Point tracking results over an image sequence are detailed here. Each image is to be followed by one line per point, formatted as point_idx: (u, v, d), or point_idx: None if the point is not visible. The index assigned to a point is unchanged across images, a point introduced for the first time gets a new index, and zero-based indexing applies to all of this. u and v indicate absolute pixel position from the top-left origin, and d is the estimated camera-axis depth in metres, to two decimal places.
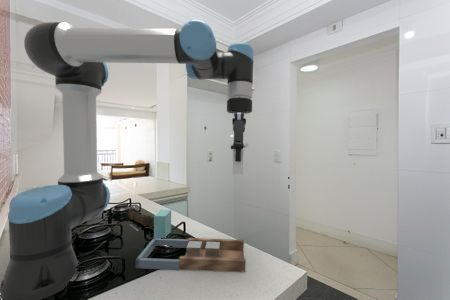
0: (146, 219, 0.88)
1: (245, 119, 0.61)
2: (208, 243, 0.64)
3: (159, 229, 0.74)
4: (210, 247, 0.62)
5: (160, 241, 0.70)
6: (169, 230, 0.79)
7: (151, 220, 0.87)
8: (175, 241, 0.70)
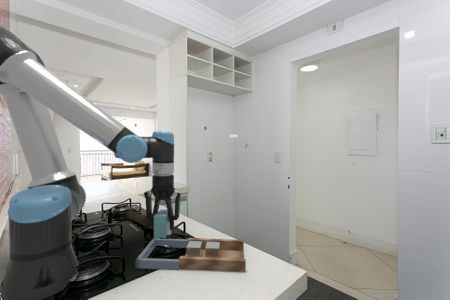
0: (146, 219, 0.88)
1: (156, 193, 0.75)
2: (208, 243, 0.64)
3: (159, 229, 0.74)
4: (210, 247, 0.62)
5: (160, 241, 0.70)
6: None
7: None
8: (175, 241, 0.70)
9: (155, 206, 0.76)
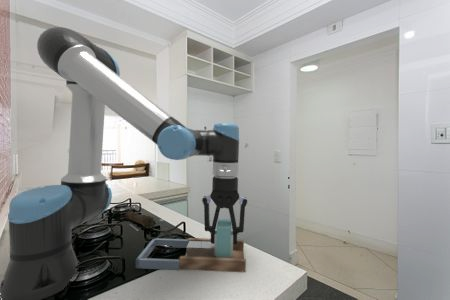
0: (145, 219, 0.88)
1: (218, 199, 0.61)
2: (203, 243, 0.65)
3: (223, 244, 0.60)
4: (205, 247, 0.62)
5: (160, 241, 0.70)
6: None
7: (151, 220, 0.87)
8: (175, 241, 0.70)
9: (216, 215, 0.62)
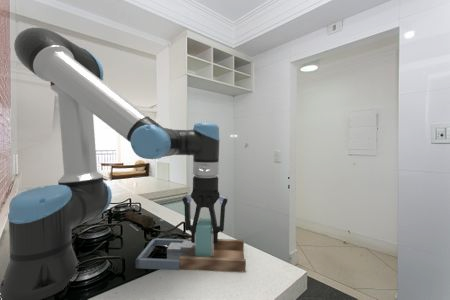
0: (145, 219, 0.88)
1: (198, 198, 0.61)
2: (184, 242, 0.65)
3: (202, 243, 0.60)
4: (185, 246, 0.62)
5: (160, 241, 0.70)
6: None
7: (150, 220, 0.87)
8: (175, 241, 0.70)
9: (196, 215, 0.62)
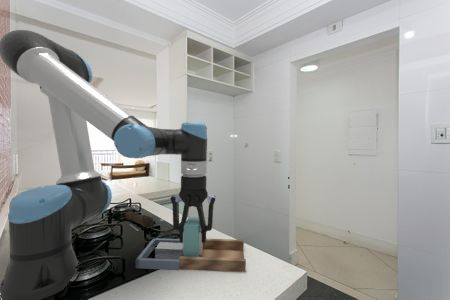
0: (145, 219, 0.88)
1: (185, 198, 0.61)
2: (173, 244, 0.65)
3: (190, 242, 0.60)
4: (174, 248, 0.62)
5: (160, 241, 0.70)
6: None
7: (150, 220, 0.87)
8: (175, 241, 0.70)
9: (184, 214, 0.62)
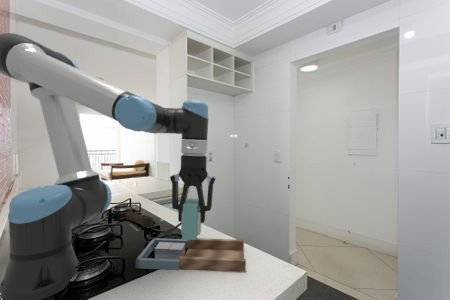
0: (145, 219, 0.88)
1: (185, 177, 0.61)
2: (173, 244, 0.65)
3: (189, 221, 0.60)
4: (174, 248, 0.62)
5: (160, 241, 0.70)
6: None
7: (150, 220, 0.87)
8: (175, 241, 0.70)
9: (183, 193, 0.62)
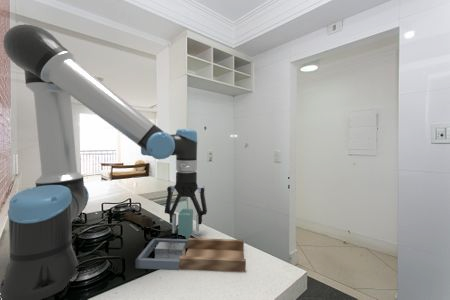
0: (144, 220, 0.87)
1: (180, 189, 0.77)
2: (173, 244, 0.65)
3: (183, 227, 0.76)
4: (174, 248, 0.62)
5: (160, 241, 0.70)
6: (191, 228, 0.81)
7: (149, 221, 0.86)
8: (175, 241, 0.70)
9: (176, 201, 0.78)
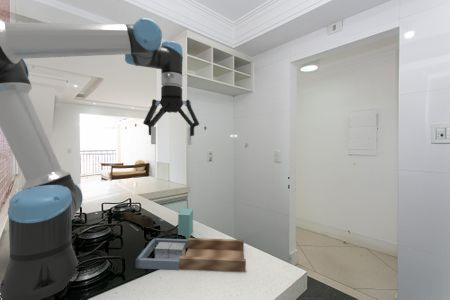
0: (144, 220, 0.87)
1: (165, 102, 0.77)
2: (173, 244, 0.65)
3: (183, 227, 0.76)
4: (174, 248, 0.62)
5: (160, 241, 0.70)
6: (191, 228, 0.81)
7: (150, 220, 0.86)
8: (175, 241, 0.70)
9: (158, 114, 0.78)
